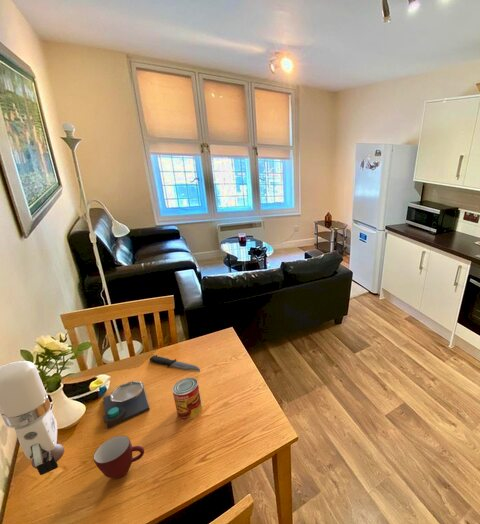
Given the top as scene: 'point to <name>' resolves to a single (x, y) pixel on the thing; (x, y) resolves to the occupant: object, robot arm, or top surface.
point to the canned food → (187, 398)
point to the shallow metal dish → (126, 392)
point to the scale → (125, 409)
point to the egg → (53, 453)
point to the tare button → (113, 412)
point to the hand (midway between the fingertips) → (50, 459)
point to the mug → (116, 456)
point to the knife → (172, 363)
